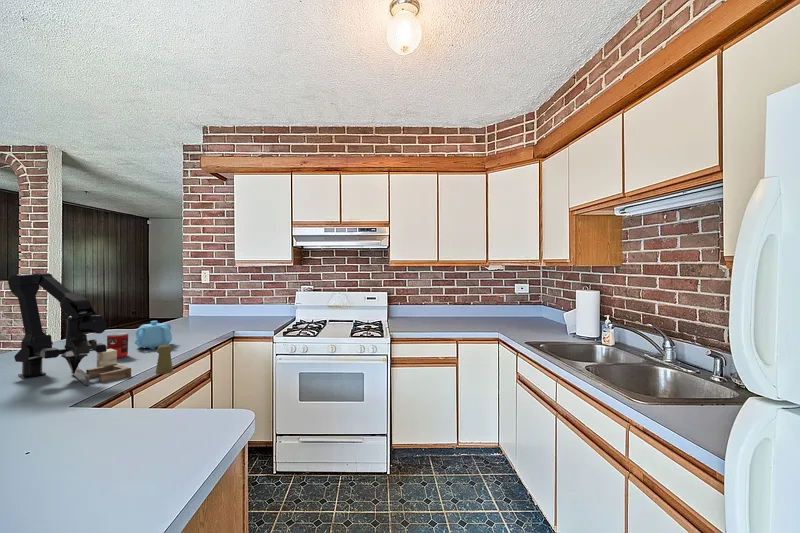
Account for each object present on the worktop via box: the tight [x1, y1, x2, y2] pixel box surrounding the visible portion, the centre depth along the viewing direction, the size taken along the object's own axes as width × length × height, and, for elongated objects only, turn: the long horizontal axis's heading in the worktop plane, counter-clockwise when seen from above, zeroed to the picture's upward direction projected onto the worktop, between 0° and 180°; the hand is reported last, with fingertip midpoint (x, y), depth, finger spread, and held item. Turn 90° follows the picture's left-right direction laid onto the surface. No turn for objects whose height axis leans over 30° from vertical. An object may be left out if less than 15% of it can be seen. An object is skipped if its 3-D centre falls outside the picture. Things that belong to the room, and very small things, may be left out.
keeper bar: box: [70, 366, 91, 386], centre depth 147 cm, size 21×2×4 cm, turn 50°
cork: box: [155, 344, 174, 375], centre depth 159 cm, size 6×6×11 cm
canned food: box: [106, 331, 129, 359], centre depth 181 cm, size 8×8×11 cm
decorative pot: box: [134, 320, 173, 350], centre depth 204 cm, size 16×16×14 cm
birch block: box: [96, 349, 118, 367], centre depth 160 cm, size 5×5×8 cm
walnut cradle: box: [85, 363, 132, 383], centre depth 151 cm, size 12×10×3 cm
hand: (73, 373), depth 147 cm, fingers closed
